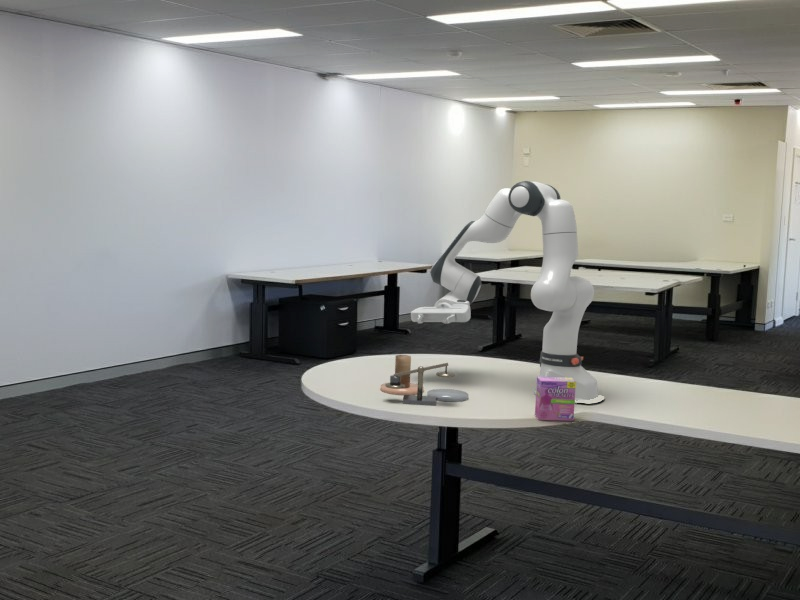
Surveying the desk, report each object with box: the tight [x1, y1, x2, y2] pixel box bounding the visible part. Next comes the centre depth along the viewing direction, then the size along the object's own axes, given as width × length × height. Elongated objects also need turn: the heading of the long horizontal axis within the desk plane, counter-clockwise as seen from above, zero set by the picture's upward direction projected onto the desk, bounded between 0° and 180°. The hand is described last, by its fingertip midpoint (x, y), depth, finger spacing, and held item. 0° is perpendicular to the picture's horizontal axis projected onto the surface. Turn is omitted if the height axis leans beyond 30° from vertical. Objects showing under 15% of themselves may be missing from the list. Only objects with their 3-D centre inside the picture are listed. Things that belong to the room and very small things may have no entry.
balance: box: [385, 362, 457, 406], centre depth 257 cm, size 21×7×13 cm, turn 87°
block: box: [394, 354, 412, 388], centre depth 272 cm, size 5×5×10 cm
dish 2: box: [426, 388, 469, 403], centre depth 266 cm, size 13×13×1 cm
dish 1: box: [380, 382, 425, 396], centre depth 273 cm, size 14×14×1 cm
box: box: [534, 376, 576, 422], centre depth 243 cm, size 10×6×12 cm, turn 92°
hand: (432, 321), depth 279 cm, fingers open, 8 cm apart
